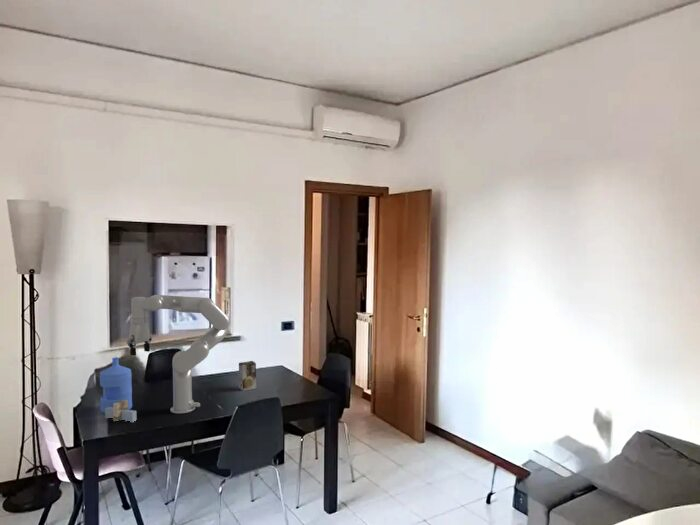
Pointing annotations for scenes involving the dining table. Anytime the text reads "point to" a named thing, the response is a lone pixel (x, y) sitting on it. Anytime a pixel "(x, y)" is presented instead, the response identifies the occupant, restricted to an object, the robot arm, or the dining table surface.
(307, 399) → the dining table surface
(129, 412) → the plain gray rectangular bar
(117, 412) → the notched wooden block
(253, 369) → the coffee box
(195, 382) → the dining table surface
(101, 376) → the water jug
